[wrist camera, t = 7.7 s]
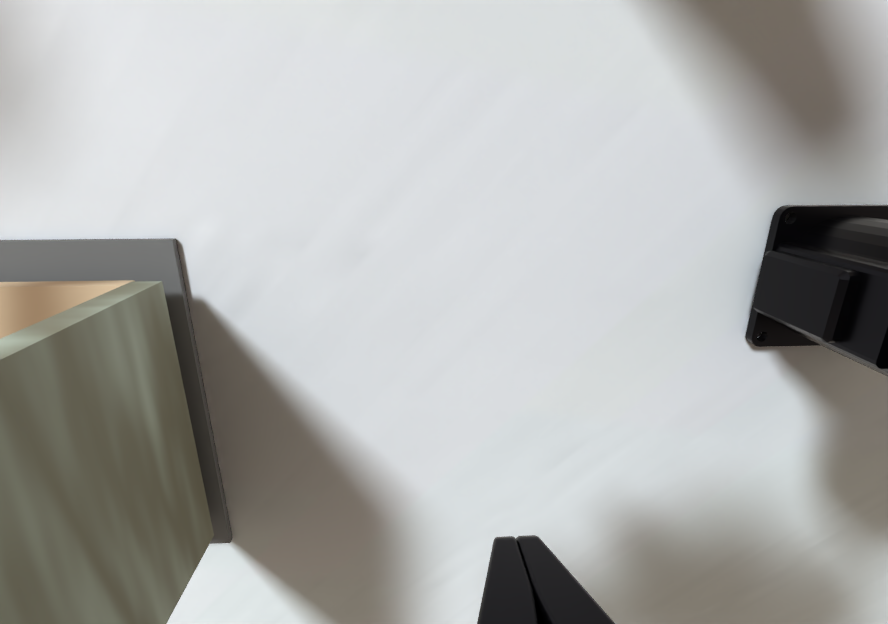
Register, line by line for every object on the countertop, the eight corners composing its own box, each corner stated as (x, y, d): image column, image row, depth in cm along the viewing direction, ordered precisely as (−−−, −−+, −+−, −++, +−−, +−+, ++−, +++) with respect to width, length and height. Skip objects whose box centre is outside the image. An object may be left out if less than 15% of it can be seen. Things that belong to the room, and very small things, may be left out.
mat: (175, 238, 19) (171, 239, 19) (232, 538, 24) (229, 542, 24) (-179, 241, 19) (-188, 242, 18) (-44, 549, 24) (-50, 554, 23)
